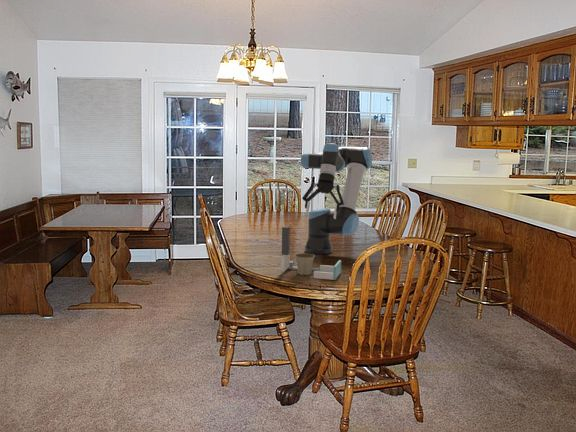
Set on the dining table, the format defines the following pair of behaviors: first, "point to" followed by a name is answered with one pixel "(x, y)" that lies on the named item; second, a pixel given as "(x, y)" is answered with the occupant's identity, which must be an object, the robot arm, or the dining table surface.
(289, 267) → the track
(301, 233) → the dining table surface
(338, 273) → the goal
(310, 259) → the flower pot
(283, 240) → the paddle
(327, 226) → the robot arm
